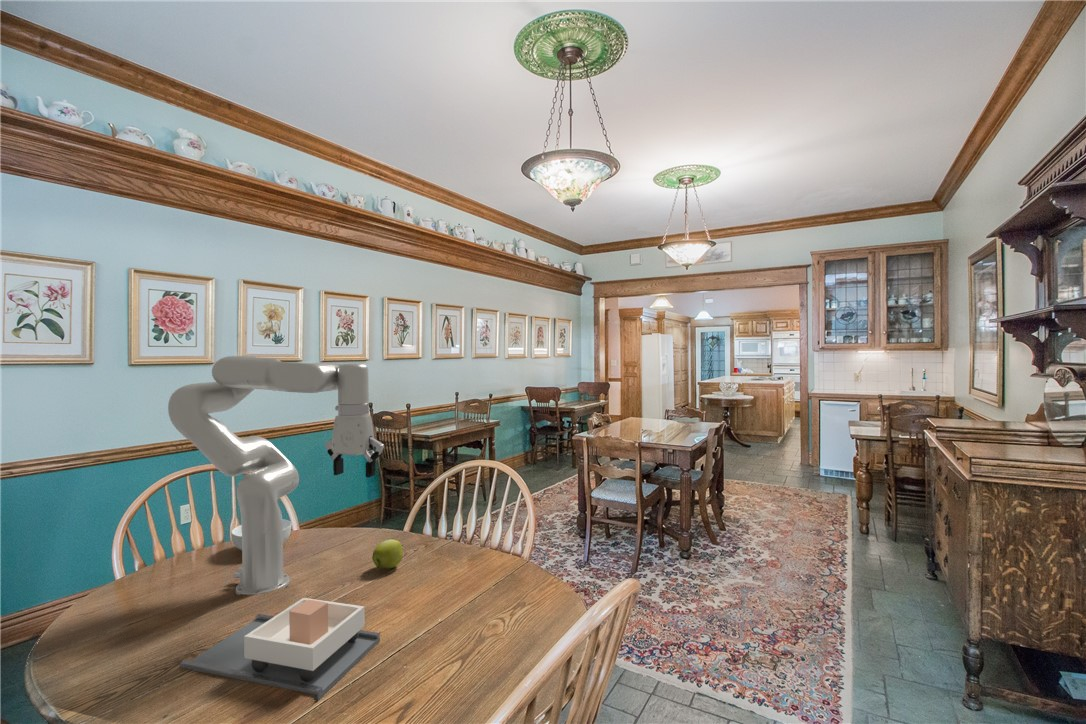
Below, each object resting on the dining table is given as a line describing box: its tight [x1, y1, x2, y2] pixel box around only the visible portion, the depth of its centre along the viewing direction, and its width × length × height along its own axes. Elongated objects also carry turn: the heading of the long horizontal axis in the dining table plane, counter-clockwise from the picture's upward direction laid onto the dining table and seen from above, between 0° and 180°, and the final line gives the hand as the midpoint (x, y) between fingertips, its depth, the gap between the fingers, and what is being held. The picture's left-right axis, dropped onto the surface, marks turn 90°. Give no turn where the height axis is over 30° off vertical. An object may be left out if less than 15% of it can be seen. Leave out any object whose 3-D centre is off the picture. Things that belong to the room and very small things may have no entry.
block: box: [289, 598, 328, 645], centre depth 101 cm, size 5×5×6 cm
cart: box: [244, 597, 366, 682], centre depth 101 cm, size 16×16×7 cm
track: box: [179, 613, 381, 701], centre depth 102 cm, size 32×19×2 cm, turn 75°
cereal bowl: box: [230, 518, 293, 551], centre depth 160 cm, size 17×17×7 cm
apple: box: [371, 538, 404, 570], centre depth 144 cm, size 8×9×8 cm
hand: (354, 475), depth 131 cm, fingers open, 9 cm apart
